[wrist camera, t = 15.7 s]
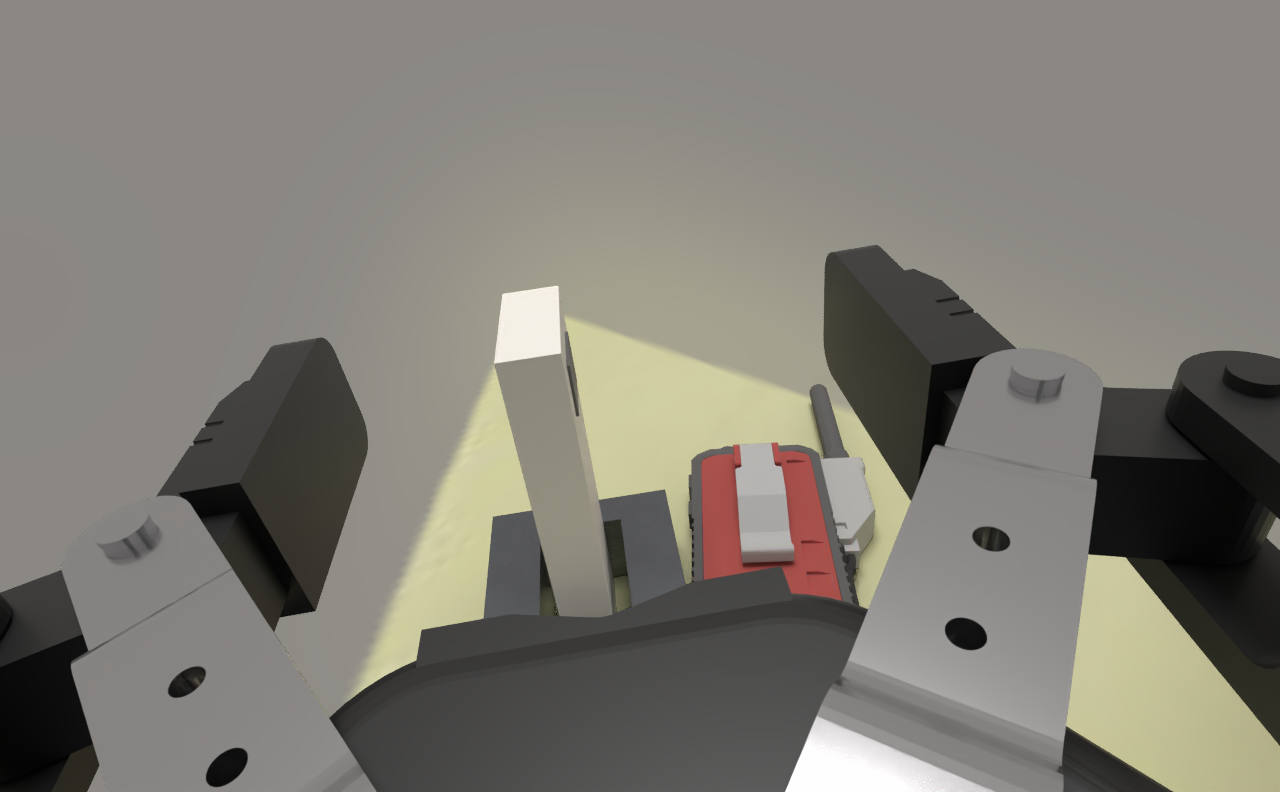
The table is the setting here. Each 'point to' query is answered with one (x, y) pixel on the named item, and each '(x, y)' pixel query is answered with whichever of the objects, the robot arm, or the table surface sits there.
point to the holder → (633, 546)
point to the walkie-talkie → (783, 511)
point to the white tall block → (554, 449)
